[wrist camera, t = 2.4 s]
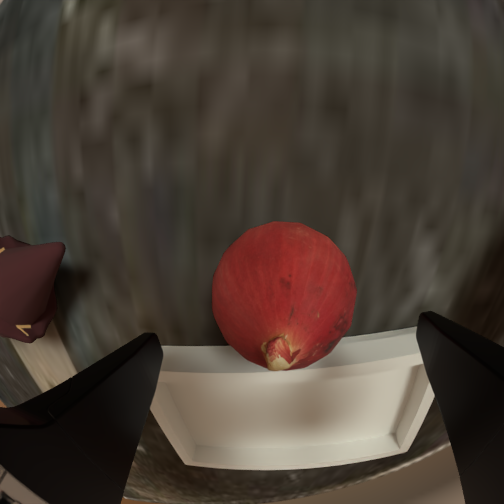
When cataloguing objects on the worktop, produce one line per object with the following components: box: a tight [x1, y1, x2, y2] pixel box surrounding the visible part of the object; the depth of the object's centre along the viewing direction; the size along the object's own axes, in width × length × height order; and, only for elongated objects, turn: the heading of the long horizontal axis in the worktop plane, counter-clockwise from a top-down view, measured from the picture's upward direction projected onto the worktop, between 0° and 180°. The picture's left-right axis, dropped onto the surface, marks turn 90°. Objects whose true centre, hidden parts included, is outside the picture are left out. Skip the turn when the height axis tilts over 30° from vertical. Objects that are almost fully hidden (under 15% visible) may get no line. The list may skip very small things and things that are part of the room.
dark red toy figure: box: [0, 236, 66, 343], centre depth 14 cm, size 7×7×15 cm
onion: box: [212, 221, 357, 371], centre depth 11 cm, size 6×6×8 cm
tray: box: [150, 326, 435, 470], centre depth 18 cm, size 20×13×2 cm, turn 97°
